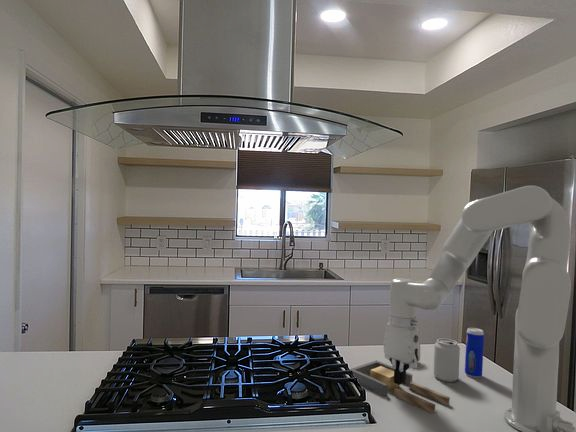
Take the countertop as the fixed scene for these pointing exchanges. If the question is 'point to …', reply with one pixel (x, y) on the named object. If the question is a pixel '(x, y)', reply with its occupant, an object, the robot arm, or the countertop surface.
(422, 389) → the chute
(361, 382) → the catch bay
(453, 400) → the countertop surface
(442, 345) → the can
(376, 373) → the ochre block
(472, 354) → the beverage can
